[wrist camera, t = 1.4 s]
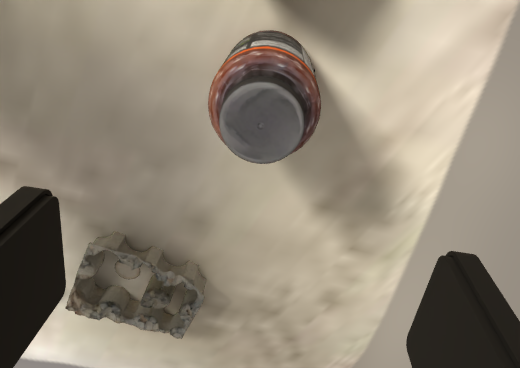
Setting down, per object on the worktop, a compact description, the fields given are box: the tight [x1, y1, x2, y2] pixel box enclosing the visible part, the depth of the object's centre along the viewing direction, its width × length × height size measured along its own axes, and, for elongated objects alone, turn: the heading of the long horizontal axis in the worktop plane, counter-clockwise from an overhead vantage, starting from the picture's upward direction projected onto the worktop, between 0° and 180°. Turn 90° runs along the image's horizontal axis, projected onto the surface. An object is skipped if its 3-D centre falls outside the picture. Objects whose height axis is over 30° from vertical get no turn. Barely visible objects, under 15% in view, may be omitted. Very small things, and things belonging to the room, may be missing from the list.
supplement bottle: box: [208, 31, 321, 164], centre depth 25 cm, size 6×6×11 cm
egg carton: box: [66, 231, 206, 339], centre depth 37 cm, size 11×8×4 cm
